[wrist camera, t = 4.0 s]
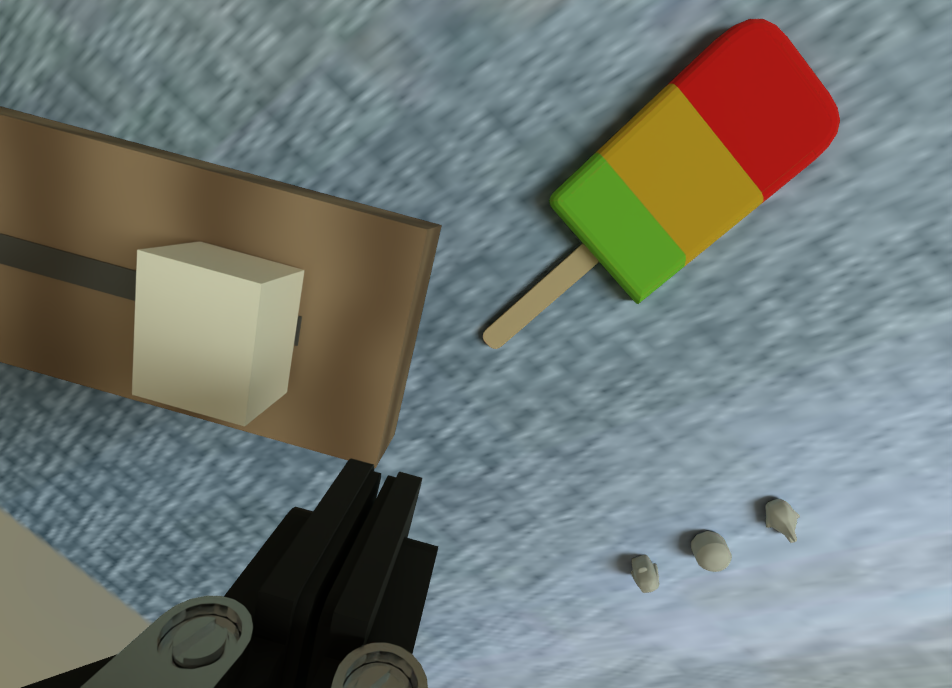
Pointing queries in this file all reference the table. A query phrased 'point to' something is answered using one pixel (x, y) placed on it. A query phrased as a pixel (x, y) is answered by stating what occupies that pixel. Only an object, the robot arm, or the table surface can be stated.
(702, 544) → the game pieces
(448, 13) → the table surface
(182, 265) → the fader knob
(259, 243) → the console
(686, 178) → the popsicle
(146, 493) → the table surface
